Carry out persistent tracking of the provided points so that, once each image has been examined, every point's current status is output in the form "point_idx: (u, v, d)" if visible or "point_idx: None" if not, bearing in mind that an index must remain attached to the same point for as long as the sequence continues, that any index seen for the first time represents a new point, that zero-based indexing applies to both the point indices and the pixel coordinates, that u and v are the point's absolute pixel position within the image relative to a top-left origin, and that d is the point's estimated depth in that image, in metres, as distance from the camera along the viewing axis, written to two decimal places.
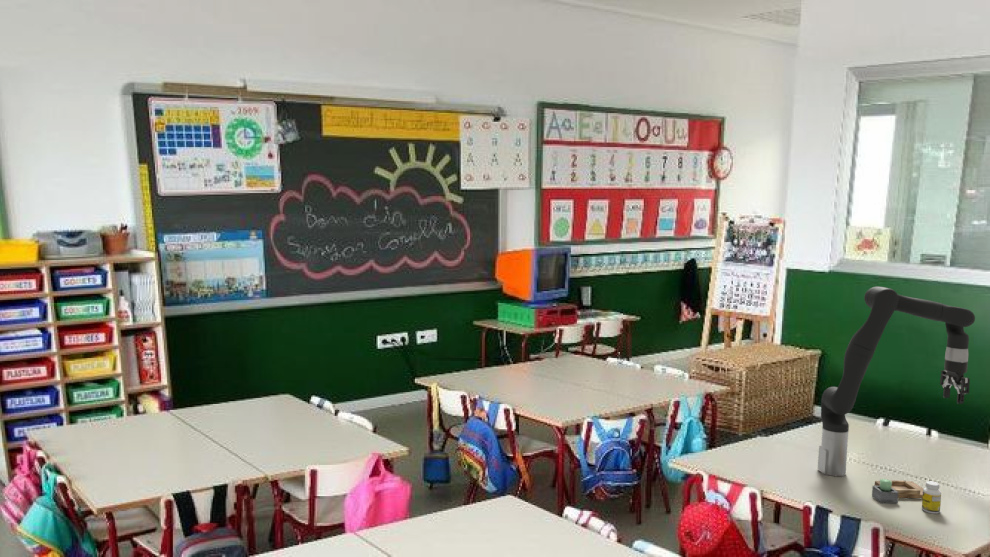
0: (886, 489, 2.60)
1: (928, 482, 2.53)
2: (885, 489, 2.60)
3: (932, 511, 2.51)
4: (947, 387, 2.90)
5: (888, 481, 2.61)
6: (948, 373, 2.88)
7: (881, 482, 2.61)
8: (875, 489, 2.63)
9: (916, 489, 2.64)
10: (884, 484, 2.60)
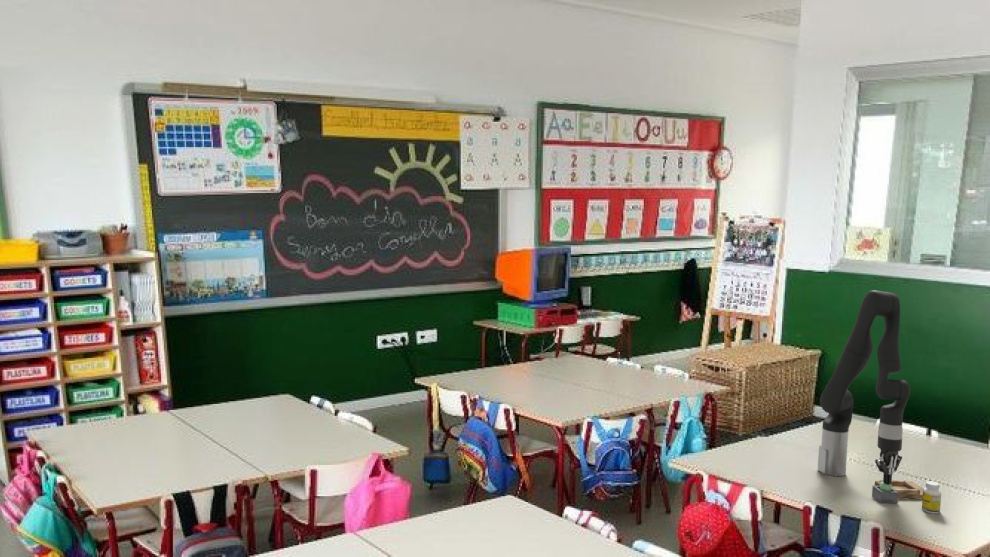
0: None
1: (928, 482, 2.53)
2: None
3: (932, 511, 2.51)
4: None
5: None
6: (887, 453, 2.58)
7: (881, 485, 2.61)
8: (875, 489, 2.63)
9: (916, 489, 2.64)
10: (884, 487, 2.60)
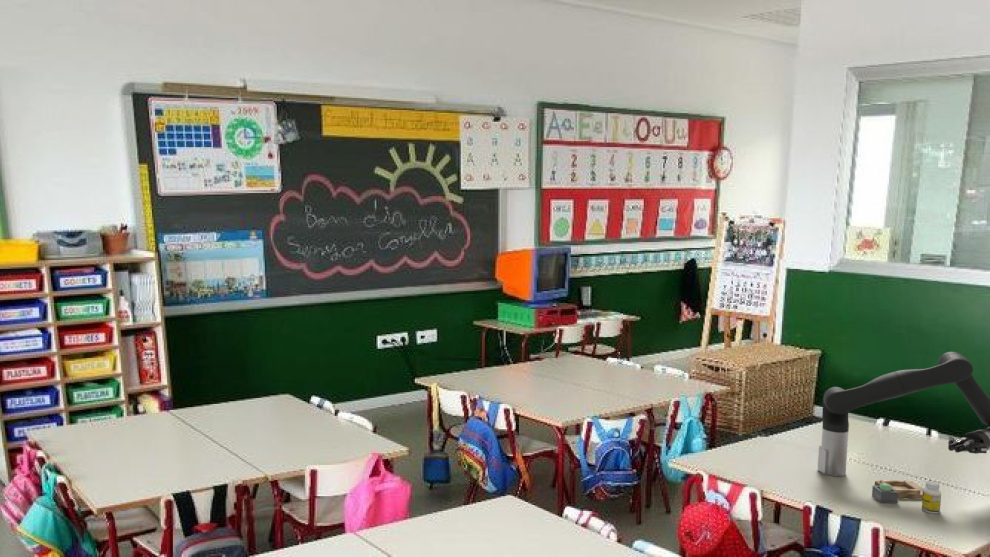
0: None
1: (928, 482, 2.53)
2: None
3: (932, 511, 2.51)
4: None
5: (888, 485, 2.61)
6: None
7: (881, 486, 2.61)
8: (875, 489, 2.63)
9: (916, 489, 2.64)
10: (884, 488, 2.60)
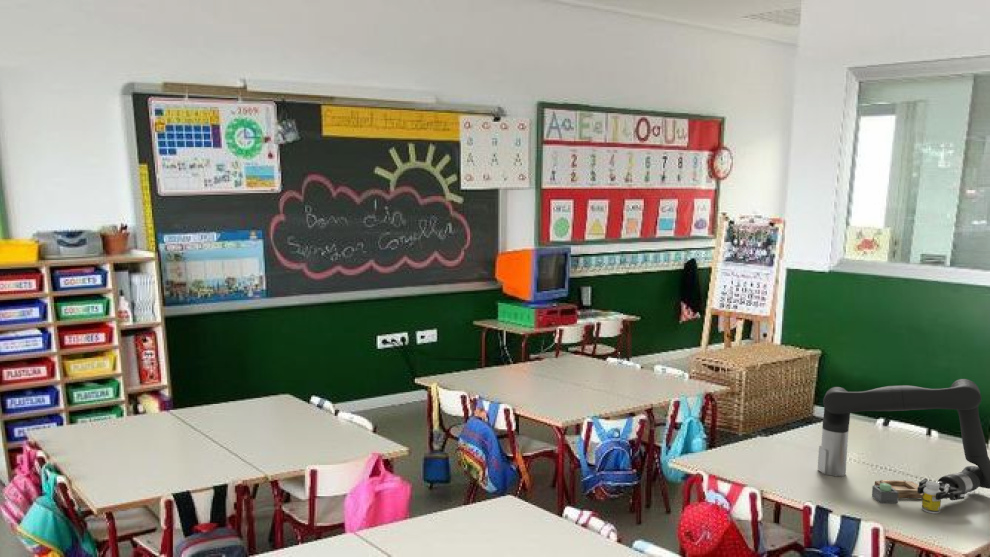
0: None
1: (928, 482, 2.53)
2: None
3: (932, 511, 2.51)
4: None
5: (888, 485, 2.61)
6: None
7: (881, 486, 2.61)
8: (875, 489, 2.63)
9: (916, 489, 2.64)
10: (884, 488, 2.60)
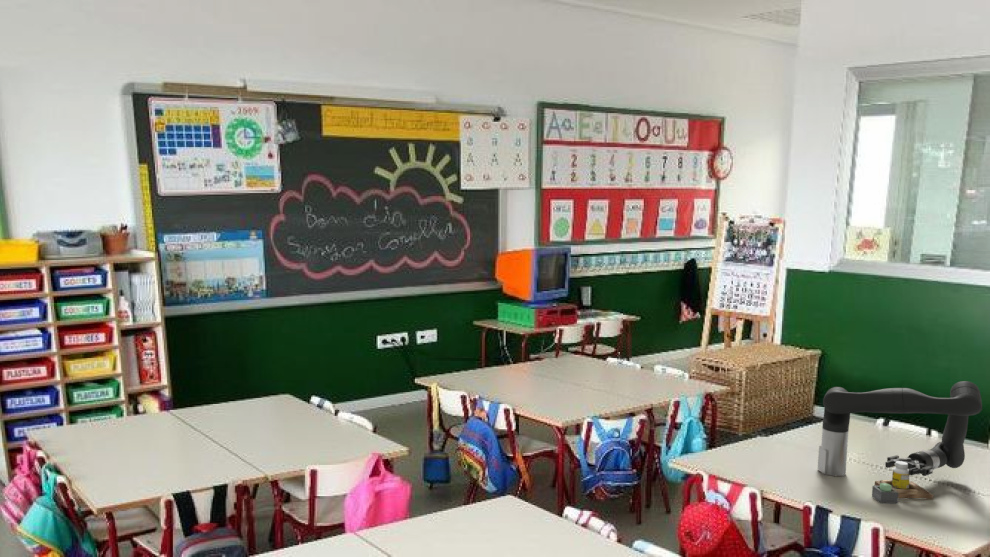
0: None
1: (897, 462, 2.68)
2: None
3: None
4: None
5: (888, 485, 2.61)
6: None
7: (881, 486, 2.61)
8: (875, 489, 2.63)
9: (916, 489, 2.64)
10: (884, 488, 2.60)
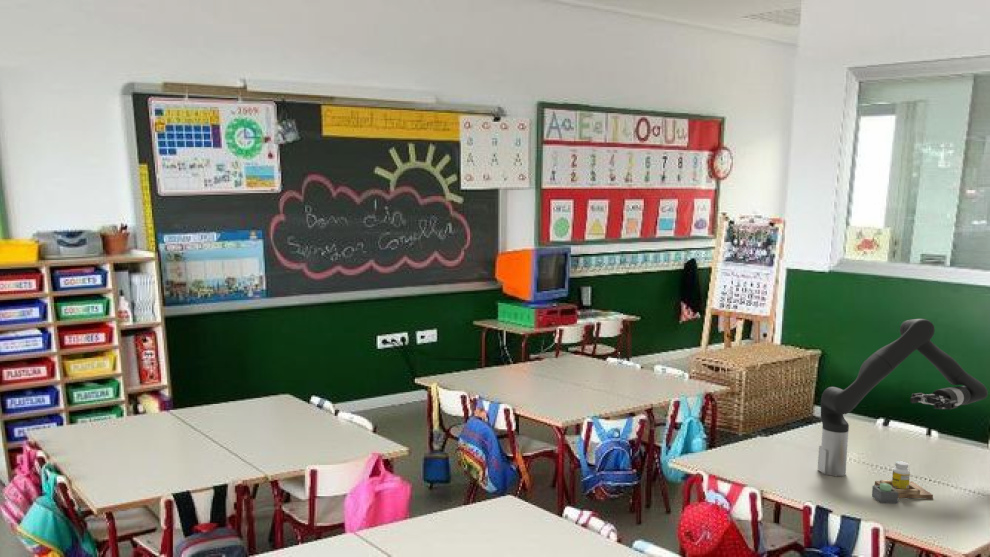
0: None
1: (897, 462, 2.68)
2: None
3: None
4: None
5: (888, 485, 2.61)
6: None
7: (881, 486, 2.61)
8: (875, 489, 2.63)
9: (916, 489, 2.64)
10: (884, 488, 2.60)
